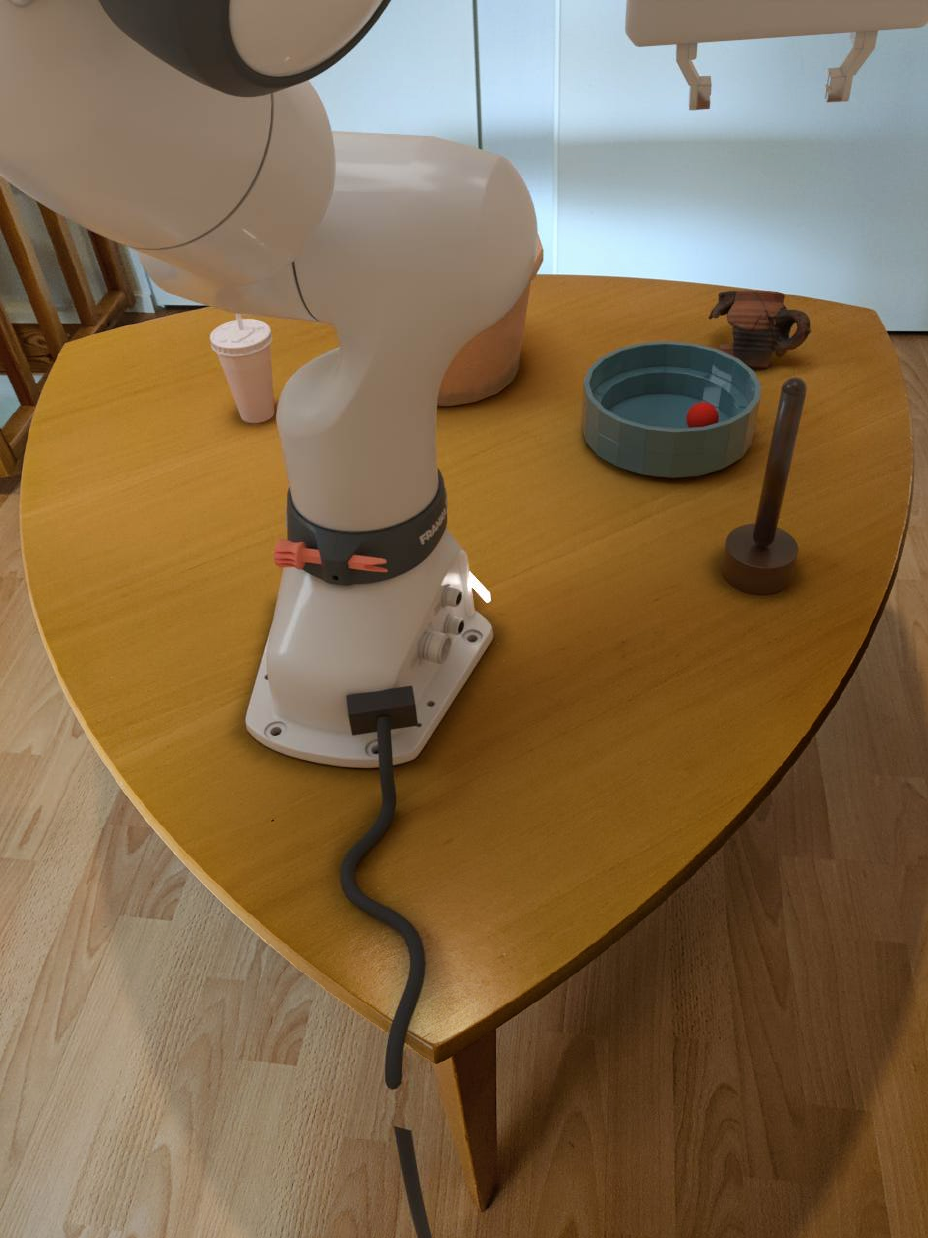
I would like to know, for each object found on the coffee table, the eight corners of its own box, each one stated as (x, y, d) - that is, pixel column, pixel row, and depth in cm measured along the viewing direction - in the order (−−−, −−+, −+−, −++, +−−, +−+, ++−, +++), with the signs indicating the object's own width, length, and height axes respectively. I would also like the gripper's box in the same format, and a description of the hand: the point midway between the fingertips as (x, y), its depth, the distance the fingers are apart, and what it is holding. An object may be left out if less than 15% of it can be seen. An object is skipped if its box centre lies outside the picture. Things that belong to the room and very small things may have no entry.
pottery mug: (690, 365, 114) (697, 289, 112) (725, 368, 121) (732, 297, 119) (793, 367, 106) (802, 286, 105) (824, 370, 114) (833, 295, 112)
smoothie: (292, 398, 111) (270, 278, 102) (279, 430, 107) (254, 307, 97) (236, 398, 112) (209, 278, 102) (221, 429, 107) (191, 307, 98)
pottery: (580, 376, 112) (585, 251, 102) (415, 443, 104) (404, 314, 94) (471, 307, 126) (466, 191, 116) (317, 362, 117) (298, 241, 107)
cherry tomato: (724, 427, 99) (702, 406, 98) (700, 446, 101) (678, 425, 100) (726, 410, 101) (704, 390, 100) (702, 428, 103) (681, 409, 102)
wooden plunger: (791, 599, 84) (839, 403, 71) (718, 589, 85) (752, 395, 72) (792, 554, 88) (838, 362, 75) (723, 546, 90) (756, 355, 77)
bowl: (746, 493, 95) (756, 440, 91) (568, 473, 99) (570, 421, 95) (755, 399, 107) (764, 348, 103) (596, 384, 111) (598, 335, 107)
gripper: (620, -109, 61) (618, 128, 71) (980, -142, 57) (924, 111, 67) (622, -131, 65) (620, 95, 75) (957, -164, 62) (908, 78, 71)
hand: (766, 103), depth 71 cm, fingers open, 8 cm apart
